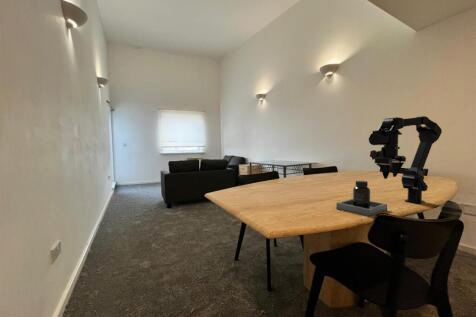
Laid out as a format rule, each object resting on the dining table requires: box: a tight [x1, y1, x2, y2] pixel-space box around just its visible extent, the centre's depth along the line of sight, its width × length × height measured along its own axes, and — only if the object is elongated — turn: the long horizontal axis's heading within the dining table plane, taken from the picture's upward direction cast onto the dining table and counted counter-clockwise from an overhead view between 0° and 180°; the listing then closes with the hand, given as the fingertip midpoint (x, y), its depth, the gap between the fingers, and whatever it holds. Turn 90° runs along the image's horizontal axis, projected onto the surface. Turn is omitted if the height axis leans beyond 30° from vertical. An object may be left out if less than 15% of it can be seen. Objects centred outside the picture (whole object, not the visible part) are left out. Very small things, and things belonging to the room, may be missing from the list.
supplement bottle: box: [352, 180, 371, 209], centre depth 110 cm, size 7×7×12 cm
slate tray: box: [335, 198, 388, 218], centre depth 110 cm, size 15×15×3 cm
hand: (390, 177), depth 116 cm, fingers open, 9 cm apart
